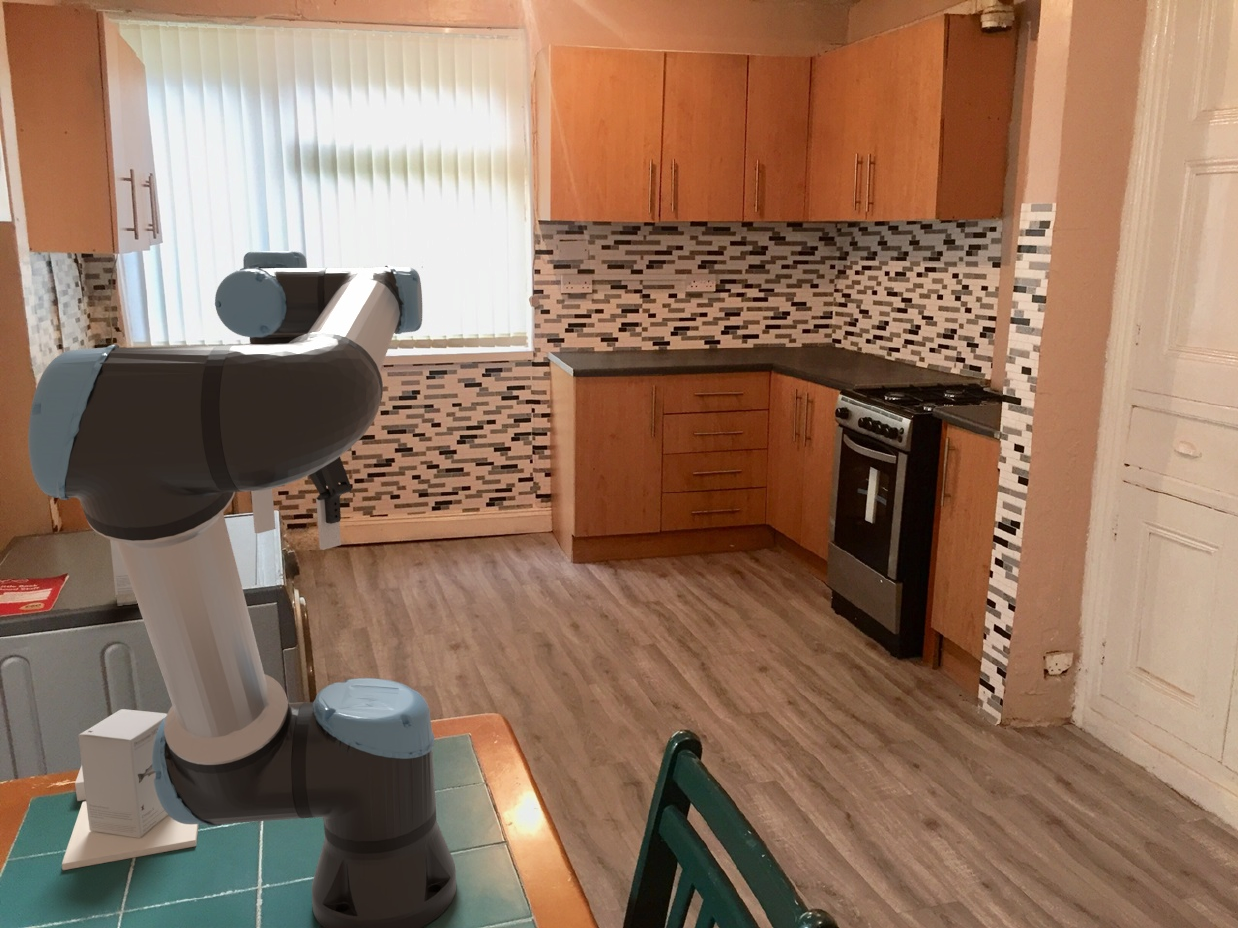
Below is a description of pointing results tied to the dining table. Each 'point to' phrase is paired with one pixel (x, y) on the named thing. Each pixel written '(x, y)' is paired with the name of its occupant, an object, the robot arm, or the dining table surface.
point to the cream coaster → (124, 842)
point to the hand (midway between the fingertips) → (296, 539)
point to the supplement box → (121, 773)
